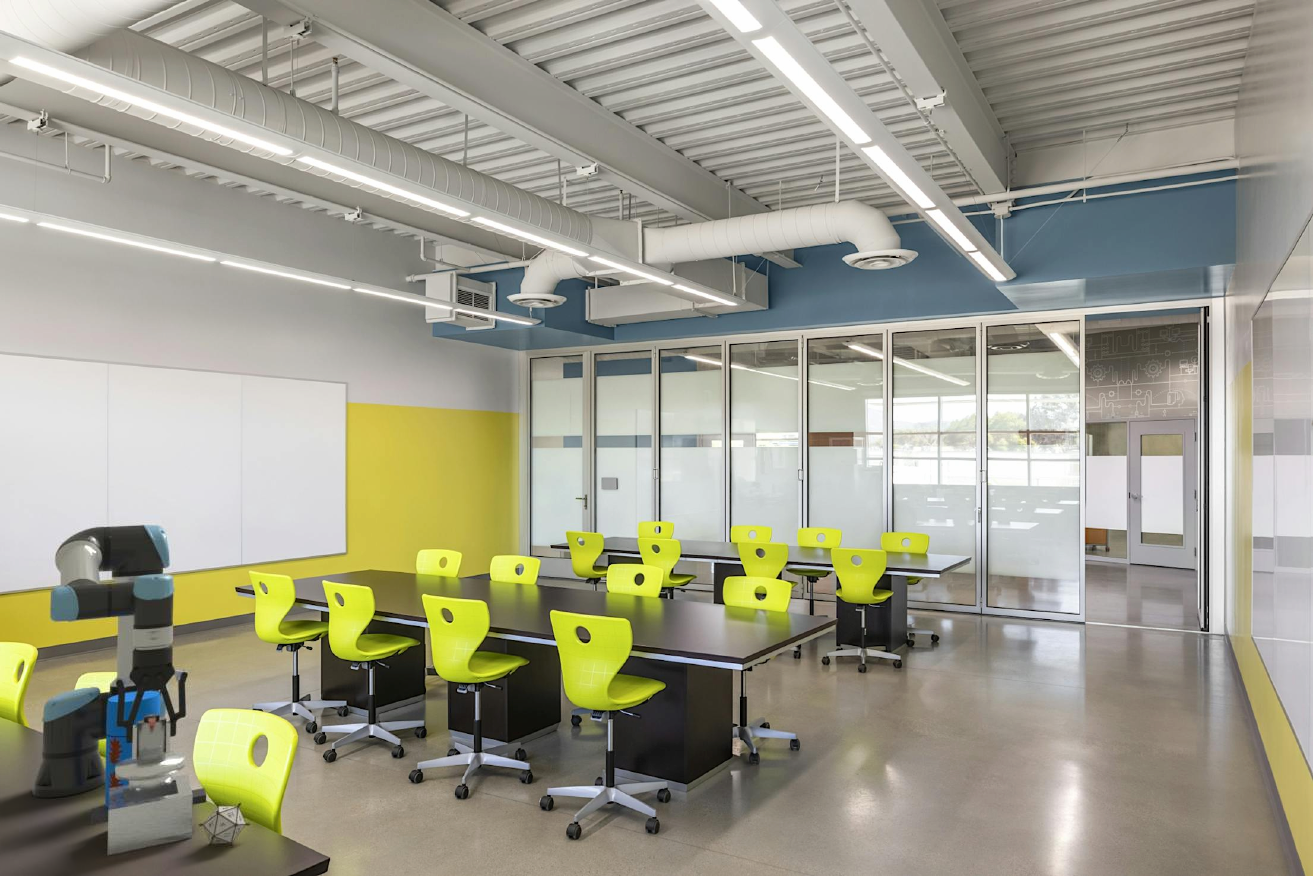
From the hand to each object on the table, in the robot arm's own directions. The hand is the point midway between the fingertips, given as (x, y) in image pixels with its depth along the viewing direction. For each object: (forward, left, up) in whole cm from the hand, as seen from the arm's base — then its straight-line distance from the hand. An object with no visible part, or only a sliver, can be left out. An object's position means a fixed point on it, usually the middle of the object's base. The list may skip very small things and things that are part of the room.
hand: (151, 754), depth 180 cm
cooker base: (0, 0, -17) cm, 17 cm away
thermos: (-23, -3, -17) cm, 29 cm away
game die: (+15, +13, -17) cm, 26 cm away
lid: (0, 0, -6) cm, 6 cm away
